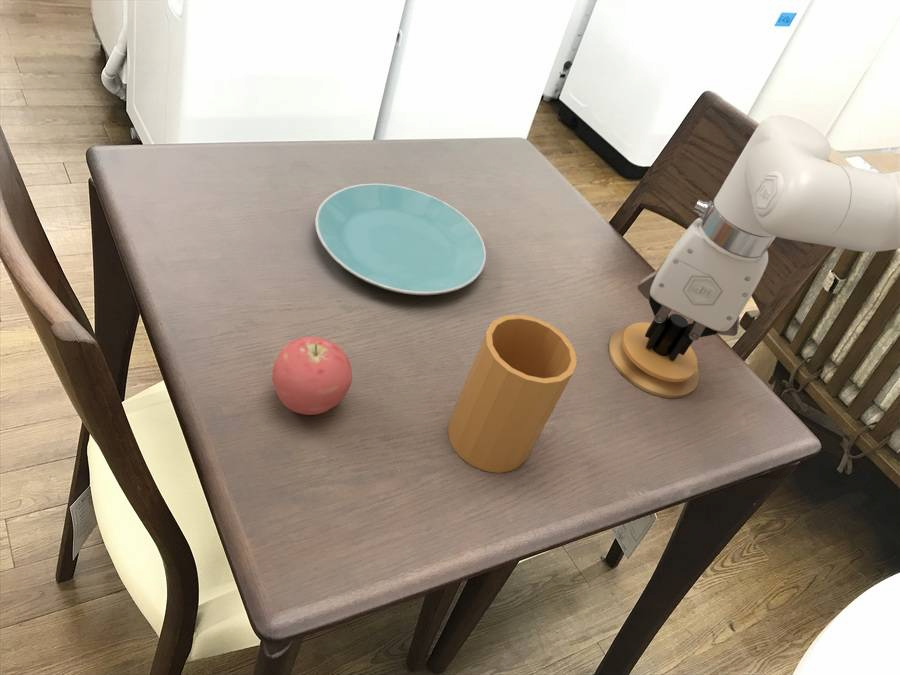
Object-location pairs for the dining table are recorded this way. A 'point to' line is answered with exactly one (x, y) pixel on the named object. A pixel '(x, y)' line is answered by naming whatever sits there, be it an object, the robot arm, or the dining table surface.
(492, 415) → the cup
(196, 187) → the dining table surface
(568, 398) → the dining table surface
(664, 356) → the shaker lid
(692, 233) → the robot arm
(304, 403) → the apple
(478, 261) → the plate
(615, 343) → the coaster
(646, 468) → the dining table surface
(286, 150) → the dining table surface
